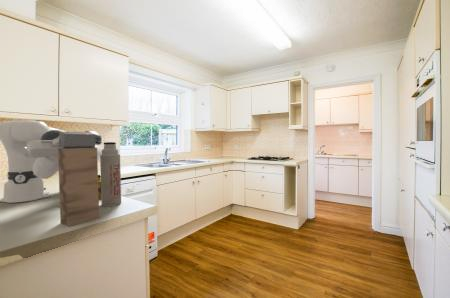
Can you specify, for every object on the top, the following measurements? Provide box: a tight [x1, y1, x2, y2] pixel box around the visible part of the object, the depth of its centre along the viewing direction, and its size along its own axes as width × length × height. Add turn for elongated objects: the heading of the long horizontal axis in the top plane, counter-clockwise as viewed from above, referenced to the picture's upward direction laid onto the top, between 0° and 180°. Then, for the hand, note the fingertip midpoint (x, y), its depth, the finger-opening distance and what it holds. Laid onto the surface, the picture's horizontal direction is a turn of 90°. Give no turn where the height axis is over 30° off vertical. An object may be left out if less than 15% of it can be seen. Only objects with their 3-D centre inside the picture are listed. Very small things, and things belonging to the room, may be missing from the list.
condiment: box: [98, 174, 101, 201], centre depth 107 cm, size 7×8×12 cm
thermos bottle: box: [99, 141, 122, 207], centre depth 100 cm, size 8×8×28 cm
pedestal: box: [58, 148, 100, 227], centre depth 79 cm, size 6×10×26 cm, turn 147°
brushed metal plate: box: [59, 131, 96, 149], centre depth 80 cm, size 13×10×5 cm
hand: (68, 137), depth 82 cm, fingers open, 2 cm apart
